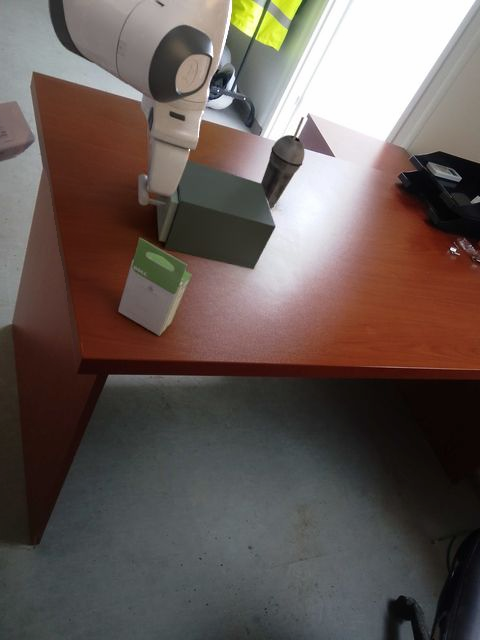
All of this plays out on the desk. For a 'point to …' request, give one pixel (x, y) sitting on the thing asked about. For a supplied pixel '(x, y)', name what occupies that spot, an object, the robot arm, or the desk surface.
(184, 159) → the robot arm
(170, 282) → the ink box
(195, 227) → the cabinet
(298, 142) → the beverage cup
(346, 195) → the desk surface
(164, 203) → the drawer
